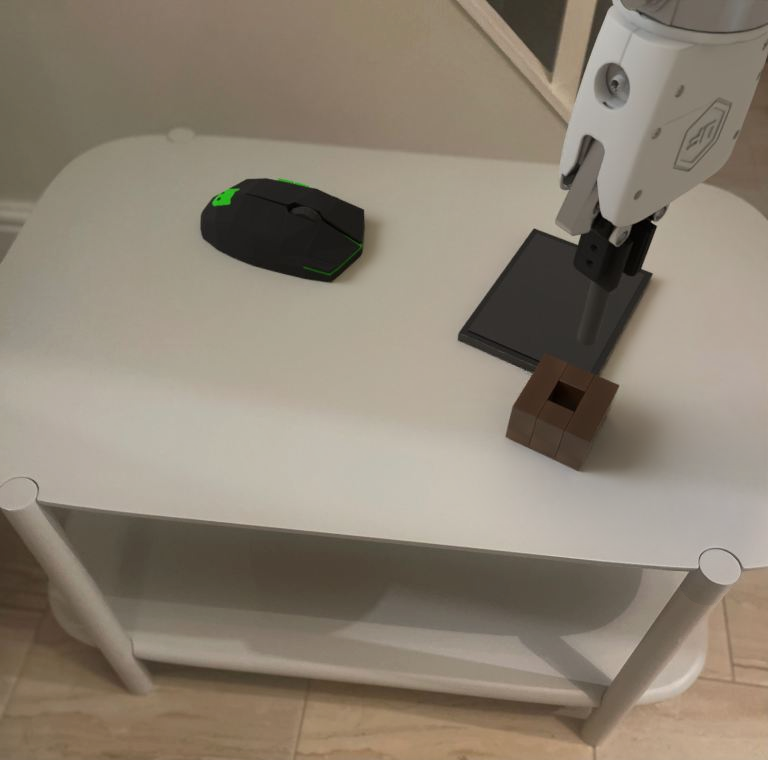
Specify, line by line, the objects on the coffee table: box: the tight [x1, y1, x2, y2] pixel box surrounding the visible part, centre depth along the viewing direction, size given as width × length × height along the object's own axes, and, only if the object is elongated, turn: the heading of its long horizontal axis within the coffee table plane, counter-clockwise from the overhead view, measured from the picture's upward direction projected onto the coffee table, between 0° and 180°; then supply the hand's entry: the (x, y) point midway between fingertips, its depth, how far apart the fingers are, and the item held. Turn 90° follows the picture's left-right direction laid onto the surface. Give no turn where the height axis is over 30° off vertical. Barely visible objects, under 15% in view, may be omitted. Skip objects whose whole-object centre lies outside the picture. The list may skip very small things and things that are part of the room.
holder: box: [505, 353, 620, 472], centre depth 62 cm, size 6×6×4 cm
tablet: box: [457, 228, 654, 377], centre depth 71 cm, size 12×16×1 cm
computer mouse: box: [199, 177, 365, 283], centre depth 76 cm, size 11×16×4 cm
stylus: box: [577, 280, 611, 346], centre depth 50 cm, size 1×1×12 cm
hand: (605, 269), depth 50 cm, fingers closed on stylus, 1 cm apart
